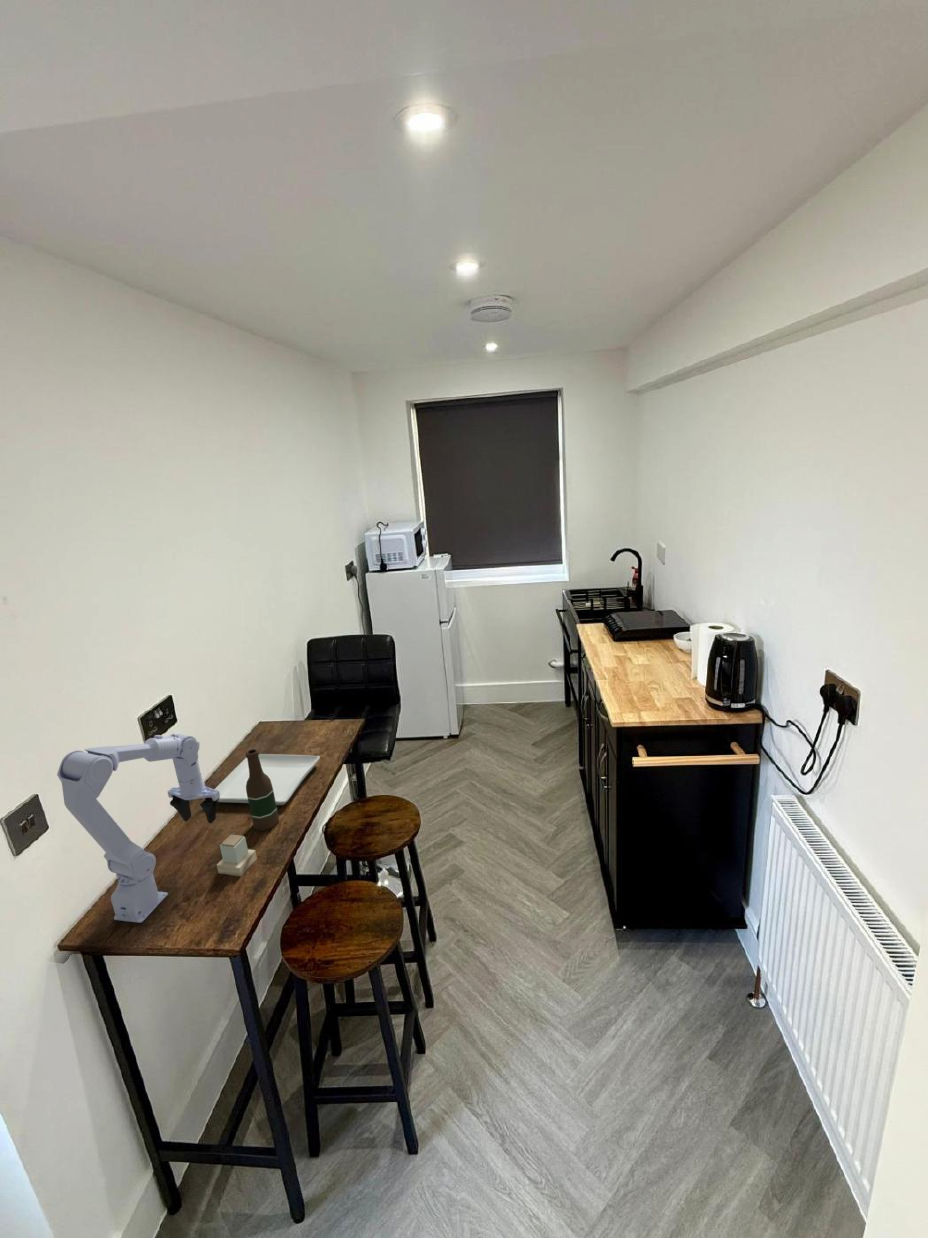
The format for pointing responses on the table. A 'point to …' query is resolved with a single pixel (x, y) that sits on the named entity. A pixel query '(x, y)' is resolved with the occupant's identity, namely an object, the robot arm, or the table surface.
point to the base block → (237, 865)
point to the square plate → (277, 767)
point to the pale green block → (234, 849)
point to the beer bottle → (260, 794)
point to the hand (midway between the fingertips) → (200, 820)
